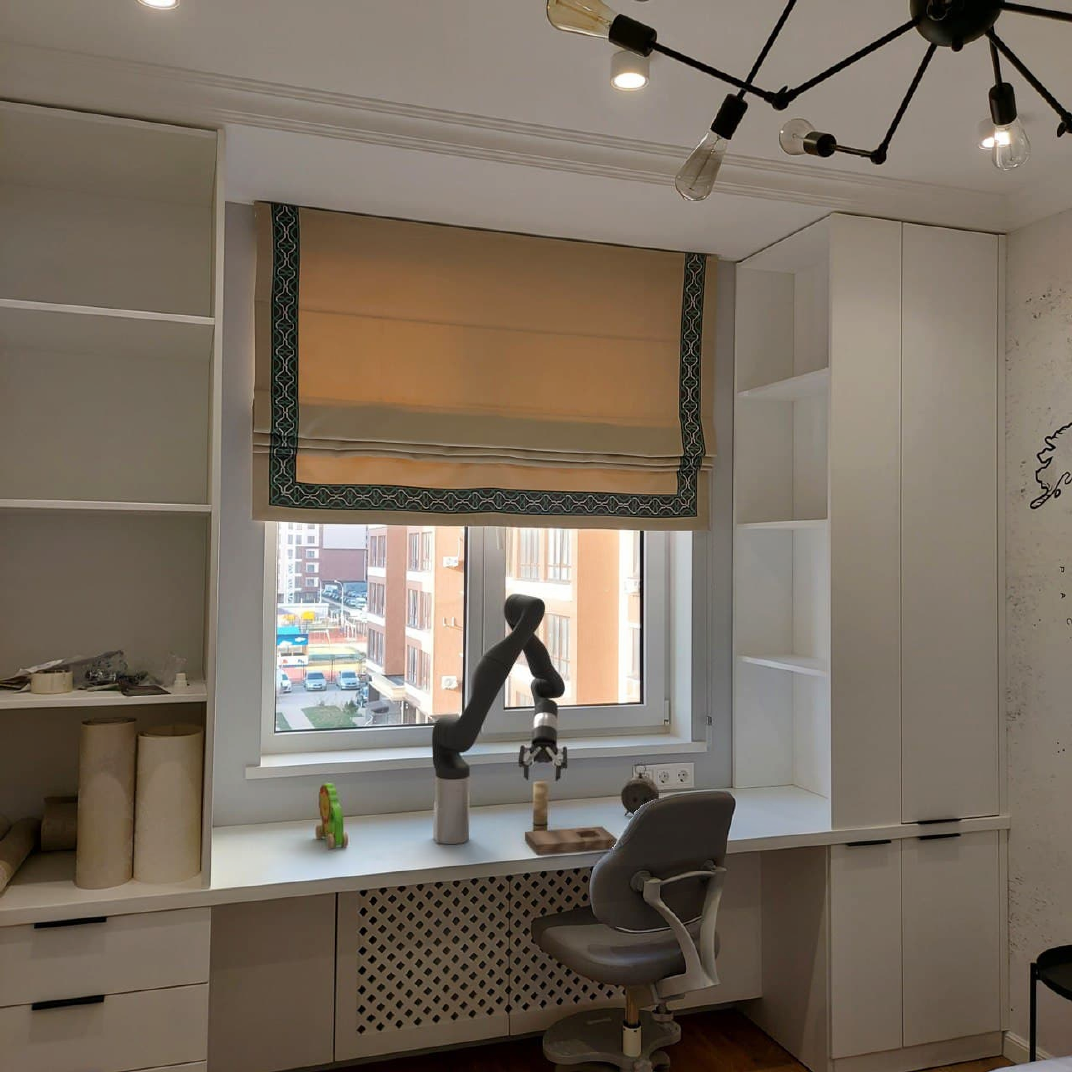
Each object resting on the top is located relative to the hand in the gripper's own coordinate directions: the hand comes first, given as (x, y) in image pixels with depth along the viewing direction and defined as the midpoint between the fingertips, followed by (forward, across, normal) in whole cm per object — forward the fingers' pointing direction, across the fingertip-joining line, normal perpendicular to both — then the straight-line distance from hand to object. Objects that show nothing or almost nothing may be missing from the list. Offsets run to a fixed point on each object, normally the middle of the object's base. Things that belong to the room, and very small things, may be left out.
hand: (542, 779), depth 269 cm
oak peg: (+14, 0, +5) cm, 15 cm away
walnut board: (+21, +9, -2) cm, 23 cm away
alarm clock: (+1, +28, +18) cm, 34 cm away
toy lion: (+24, -56, -5) cm, 61 cm away
